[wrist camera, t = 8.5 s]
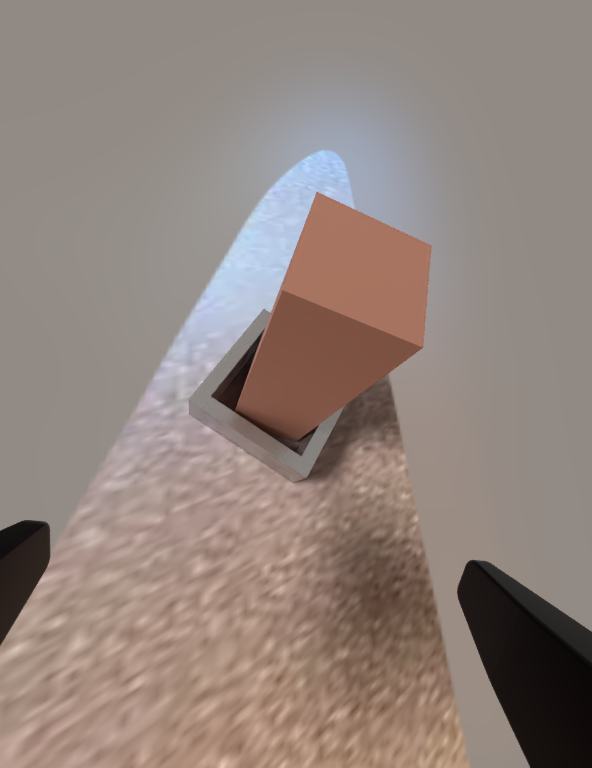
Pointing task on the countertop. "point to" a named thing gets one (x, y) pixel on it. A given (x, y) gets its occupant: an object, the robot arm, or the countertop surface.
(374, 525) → the countertop surface
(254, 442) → the gray square planter
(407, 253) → the salmon brown rectangular block
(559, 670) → the robot arm
